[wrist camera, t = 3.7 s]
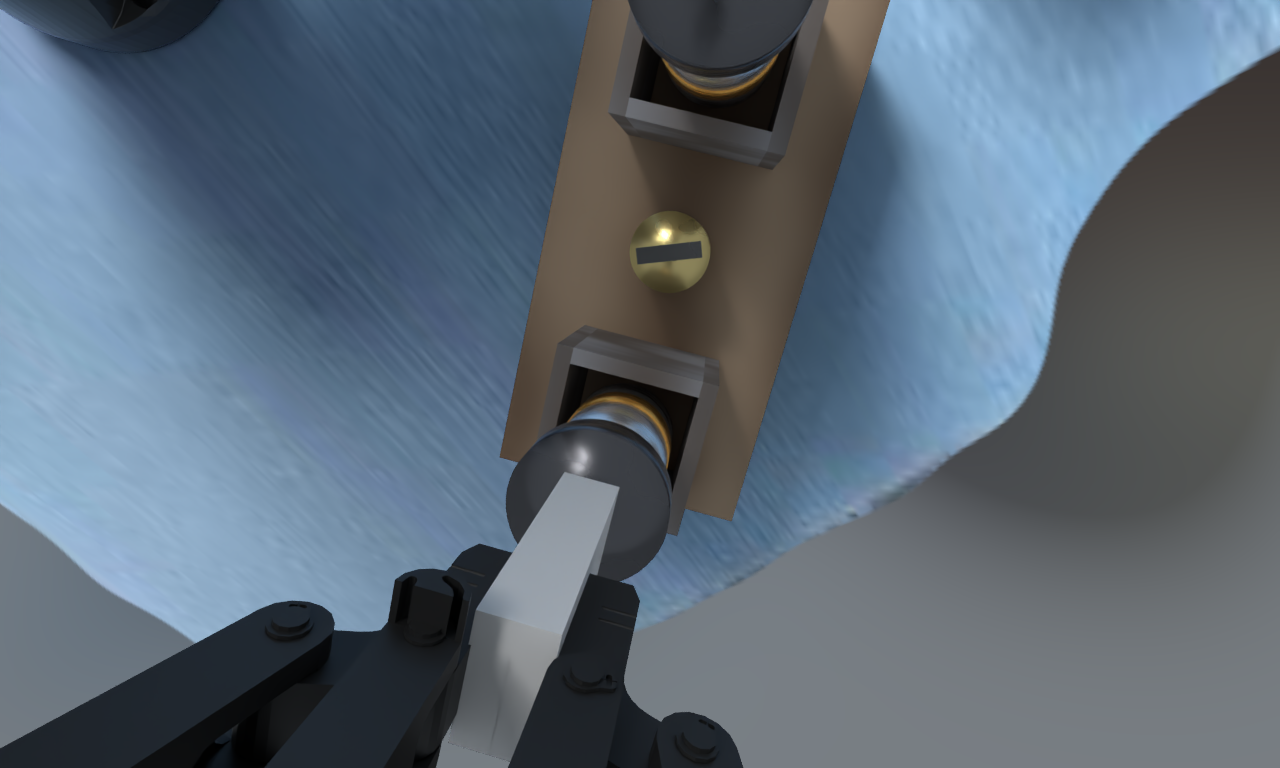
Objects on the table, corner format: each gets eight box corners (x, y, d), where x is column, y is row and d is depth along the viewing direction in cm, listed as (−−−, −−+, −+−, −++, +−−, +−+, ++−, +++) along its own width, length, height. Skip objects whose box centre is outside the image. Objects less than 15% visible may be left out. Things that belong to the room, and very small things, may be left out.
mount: (534, 421, 36) (458, 499, 26) (627, -14, 31) (581, -145, 20) (728, 474, 36) (734, 577, 25) (858, 40, 30) (935, -66, 20)
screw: (642, 290, 28) (633, 297, 25) (635, 217, 27) (623, 215, 24) (713, 283, 28) (713, 289, 24) (707, 209, 27) (706, 205, 24)
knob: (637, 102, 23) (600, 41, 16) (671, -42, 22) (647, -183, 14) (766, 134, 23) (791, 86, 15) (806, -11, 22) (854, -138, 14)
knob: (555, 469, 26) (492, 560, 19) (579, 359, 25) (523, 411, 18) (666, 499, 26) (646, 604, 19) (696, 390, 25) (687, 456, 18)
